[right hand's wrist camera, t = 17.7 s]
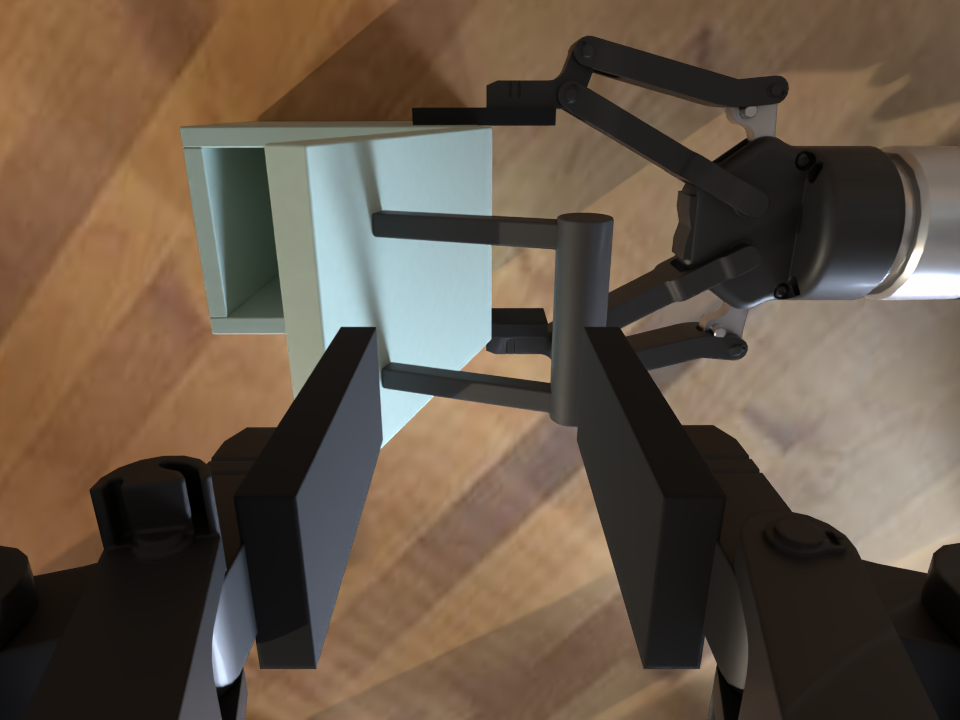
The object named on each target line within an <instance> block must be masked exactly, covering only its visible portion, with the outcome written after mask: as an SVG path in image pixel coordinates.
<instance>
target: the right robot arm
mask: <svg viewBox="0 0 960 720" xmlns="http://www.w3.org/2000/svg"><path fill="white" fill-rule="evenodd" d="M382 442H383V432H382V415H381V398H380V381H379V365H378V348H377V331H376V327H340V329H339V330H338V332H337V334H336V335H335V337H334V338H333V340H332V341H331V343H330V345H329V346H328V348H327V349H326V351H325V352H324V354H323V356H322V357H321V359H320V360H319V362H318V363H317V365H316V367H315V368H314V370H313V371H312V373H311V374H310V376H309V378H308V379H307V381H306V382H305V384H304V386H303V387H302V389H301V390H300V392H299V393H298V395H297V397H296V398H295V400H294V401H293V403H292V404H291V406H290V408H289V409H288V411H287V412H286V414H285V415H284V417H283V419H282V420H281V422H280V423H279V425H278V426H277V427H247V428H245V429H244V430H242V431H240V432H239V433H237V434H236V435H234V436H232V437H231V438H229V439H228V440H226V441H224V443H223V444H222V445H221V446H220V448H219V449H218V450H217V452H216V453H215V454H214V456H213V457H212V460H211V461H209V462H208V463H207V464H206V463H204V462H203V461H202V460H200V459H197V458H192V457H188V456H160V457H155V458H150V459H144V460H140V461H137V462H134V463H131V464H128V465H125V466H123V467H120V468H118V469H116V470H114V471H112V472H111V473H109V474H107V475H105V476H104V477H102V478H100V480H99V481H98V482H97V483H96V484H95V485H94V486H93V487H92V488H91V489H90V494H91V498H92V503H93V507H94V511H95V515H96V519H97V523H98V527H99V531H100V535H101V539H102V543H103V547H104V551H103V553H102V555H101V557H100V559H99V561H98V563H95V564H91V565H87V566H83V567H78V568H73V569H68V570H63V571H58V572H53V573H48V574H42V575H37V576H33V573H32V570H31V567H30V563H29V560H28V557H27V556H26V555H25V554H24V553H23V552H21V551H20V550H19V549H17V548H11V547H4V546H0V720H245V713H246V704H247V696H248V693H247V686H246V679H245V673H244V667H243V666H244V663H245V661H246V659H247V656H248V654H249V652H250V649H251V647H252V645H253V642H254V640H255V638H256V645H257V651H258V657H259V664H260V669H316V668H317V664H318V661H319V657H320V654H321V651H322V647H323V644H324V640H325V637H326V633H327V630H328V627H329V623H330V620H331V616H332V613H333V609H334V606H335V603H336V599H337V596H338V592H339V589H340V586H341V582H342V579H343V575H344V572H345V568H346V565H347V562H348V558H349V555H350V551H351V548H352V544H353V541H354V538H355V534H356V531H357V527H358V524H359V520H360V517H361V514H362V510H363V507H364V503H365V500H366V497H367V493H368V490H369V486H370V483H371V479H372V476H373V473H374V469H375V466H376V462H377V459H378V455H379V452H380V449H381V445H382ZM577 442H578V445H579V449H580V452H581V455H582V459H583V462H584V466H585V469H586V473H587V476H588V479H589V483H590V486H591V490H592V493H593V497H594V500H595V503H596V507H597V510H598V514H599V517H600V520H601V524H602V527H603V531H604V534H605V538H606V541H607V544H608V548H609V551H610V555H611V558H612V562H613V565H614V568H615V572H616V575H617V579H618V582H619V586H620V589H621V592H622V596H623V599H624V603H625V606H626V609H627V613H628V616H629V620H630V623H631V627H632V630H633V633H634V637H635V640H636V644H637V647H638V651H639V654H640V657H641V661H642V664H643V668H644V669H700V664H701V657H702V651H703V645H704V638H705V637H706V639H707V641H708V644H709V646H710V648H711V651H712V653H713V655H714V658H715V660H716V662H717V667H716V673H715V679H714V685H713V691H712V697H711V703H710V708H709V714H708V720H960V543H956V544H950V545H943V546H942V547H941V548H940V549H938V550H937V551H936V552H934V553H933V557H932V560H931V563H930V567H929V570H928V573H923V572H918V571H912V570H907V569H902V568H897V567H892V566H887V565H882V564H877V563H873V562H869V561H865V560H861V558H860V556H859V554H858V552H857V549H856V548H855V547H854V545H853V544H852V543H851V542H850V540H849V539H848V538H847V537H846V535H844V534H843V533H841V532H840V531H838V530H837V529H835V528H834V527H832V526H831V525H829V524H827V523H825V522H822V521H820V520H818V519H815V518H813V517H810V516H808V515H803V514H799V513H794V512H792V511H791V510H790V508H789V507H788V506H787V505H786V503H785V502H784V501H783V499H782V498H781V497H780V495H779V494H778V493H777V492H776V490H775V489H774V488H773V486H772V485H771V484H770V483H769V481H768V480H767V479H766V477H765V476H764V475H763V473H760V472H759V468H758V467H757V466H756V464H755V463H754V462H753V461H752V459H749V455H748V454H747V453H746V451H745V450H744V449H743V448H742V446H741V445H740V444H739V442H738V441H737V440H736V439H735V438H733V437H731V436H730V435H728V434H727V433H725V432H723V431H722V430H720V429H719V428H717V427H715V426H714V425H681V423H680V422H679V420H678V419H677V417H676V415H675V414H674V412H673V411H672V409H671V408H670V406H669V404H668V403H667V401H666V400H665V398H664V397H663V395H662V393H661V392H660V390H659V389H658V387H657V386H656V384H655V382H654V381H653V379H652V378H651V376H650V374H649V373H648V371H647V370H646V368H645V367H644V365H643V363H642V362H641V360H640V359H639V357H638V356H637V354H636V352H635V351H634V349H633V348H632V346H631V345H630V343H629V341H628V340H627V338H626V337H625V335H624V334H623V332H622V330H621V329H620V327H584V331H583V348H582V365H581V381H580V398H579V415H578V432H577Z"/></svg>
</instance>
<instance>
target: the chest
mask: <svg viewBox="0 0 960 720" xmlns="http://www.w3.org/2000/svg"><path fill="white" fill-rule="evenodd" d="M465 126H479V125H413V121H252V122H238V123H225V124H211V125H198V126H184V127H180V133H181V139H182V146H183V147H184V148H183V153H184V159H185V165H186V171H187V178H188V184H189V190H190V197H191V203H192V209H193V215H194V222H195V228H196V234H197V241H198V247H199V253H200V259H201V266H202V272H203V278H204V285H205V291H206V297H207V303H208V310H209V316H210V321H211V328H212V333H213V334H286V330H285V321H284V312H283V304H282V295H281V287H280V278H279V269H278V261H277V252H276V243H275V235H274V226H273V218H272V209H271V200H270V192H269V183H268V175H267V166H266V157H265V149H264V146H265V144H267V143H278V142H290V141H301V140H313V139H325V138H337V137H348V136H360V135H372V134H383V133H395V132H407V131H419V130H430V129H442V128H454V127H465Z"/></svg>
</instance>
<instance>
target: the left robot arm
mask: <svg viewBox="0 0 960 720" xmlns="http://www.w3.org/2000/svg"><path fill="white" fill-rule="evenodd" d="M592 73H595V74H599V75H602V76H606V77H609V78H612V79H616V80H619V81H623V82H626V83H630V84H633V85H636V86H640V87H643V88H647V89H650V90H654V91H657V92H661V93H664V94H667V95H671V96H674V97H678V98H681V99H685V100H688V101H691V102H695V103H698V104H702V105H707V106H712V107H726V117H727V119H728V120H729V122H731V123H732V124H737V125H741V126H742V127H743V128H744V129H745V130H746V133H747V138H746V139H744V140H743V141H741V142H740V143H739V144H737V145H736V146H734V147H733V148H731V149H730V150H728V151H727V152H726V153H724V154H723V155H721V156H720V157H718V158H717V159H715V160H714V161H713V162H711V161H710V160H708V159H707V158H705V157H703V156H701V155H699V154H698V153H695V152H693V151H691V150H690V149H688V148H686V147H685V146H683V145H681V144H680V143H678V142H676V141H675V140H673V139H671V138H670V137H668V136H666V135H665V134H663V133H661V132H660V131H658V130H656V129H655V128H653V127H651V126H650V125H648V124H646V123H645V122H643V121H642V120H640V119H638V118H637V117H635V116H633V115H632V114H630V113H628V112H627V111H625V110H623V109H622V108H620V107H618V106H617V105H615V104H613V103H612V102H610V101H608V100H607V99H605V98H603V97H602V96H600V95H599V94H597V93H595V92H594V91H592V90H590V89H589V88H587V85H588V83H589V80H590V78H591V75H592ZM788 90H789V87H788V82H787V81H786V79H785V78H783V77H782V76H767V77H757V78H747V79H735V78H732V77H729V76H725V75H722V74H718V73H715V72H712V71H708V70H705V69H702V68H698V67H695V66H691V65H688V64H685V63H681V62H678V61H674V60H671V59H668V58H664V57H661V56H658V55H654V54H651V53H647V52H644V51H641V50H637V49H634V48H631V47H627V46H624V45H620V44H617V43H614V42H610V41H607V40H604V39H600V38H597V37H593V36H585V37H583V38H581V39H579V40H578V41H576V42H575V43H574V44H573V45H572V46H571V47H570V49H569V51H568V56H567V59H566V61H565V64H564V67H563V69H562V71H561V73H560V75H559V76H558V77H557V78H555V79H554V80H549V81H496V82H493V83H491V84H489V85H487V108H412V116H413V125H479V126H555V122H556V109H562V110H564V111H566V112H567V113H569V114H571V115H572V116H574V117H576V118H577V119H579V120H581V121H582V122H584V123H586V124H588V125H589V126H591V127H593V128H594V129H596V130H598V131H599V132H601V133H603V134H604V135H606V136H608V137H609V138H611V139H613V140H615V141H616V142H618V143H620V144H621V145H623V146H625V147H626V148H628V149H630V150H631V151H633V152H635V153H636V154H638V155H640V156H641V157H643V158H645V159H647V160H648V161H650V162H652V163H653V164H655V165H657V166H658V167H660V168H662V169H663V170H665V171H666V172H668V173H669V174H671V175H673V176H674V177H676V178H678V179H679V180H681V181H683V182H684V183H686V184H685V185H684V187H683V189H682V191H678V199H677V211H678V217H679V224H678V226H677V229H676V232H675V234H674V237H673V247H672V252H673V253H675V256H674V257H672V258H670V259H668V260H666V261H664V262H662V263H660V264H658V265H657V266H656V267H655V269H654V270H652V271H651V272H649V273H647V274H645V275H643V276H641V277H639V278H637V279H635V280H633V281H631V282H629V283H627V284H625V285H623V286H621V287H619V288H617V289H615V290H613V291H611V292H609V293H608V307H607V321H606V327H620V329H621V328H623V327H625V326H627V325H629V324H631V323H633V322H635V321H637V320H639V319H641V318H643V317H645V316H647V315H649V314H651V313H653V312H655V311H657V310H659V309H661V308H663V307H665V306H667V305H669V304H671V303H673V302H680V301H685V300H687V299H690V298H692V297H694V296H696V295H698V294H700V293H702V292H704V291H706V290H708V289H709V290H710V291H711V292H713V293H714V294H715V295H717V296H718V297H719V298H721V299H722V300H723V301H724V303H723V306H722V307H721V308H720V309H719V310H718V311H716V312H712V313H707V314H705V315H703V316H702V317H701V319H700V321H699V322H688V323H681V324H676V325H672V326H668V327H664V328H659V329H655V330H651V331H647V332H643V333H639V334H635V335H631V336H627V337H626V338H627V340H628V341H629V343H630V345H631V346H632V348H633V349H634V351H635V352H636V354H637V356H638V357H639V359H640V360H641V362H642V363H643V365H644V367H645V368H646V370H647V371H648V370H652V369H657V368H661V367H665V366H669V365H673V364H677V363H682V362H686V361H690V360H694V359H698V358H712V359H724V360H739V359H741V358H743V357H744V356H745V355H746V353H747V351H748V346H747V344H746V342H745V341H744V340H743V339H742V338H741V337H742V333H743V329H744V325H745V321H746V317H747V313H748V309H750V308H753V307H755V306H757V305H759V304H761V303H763V302H766V301H770V300H855V299H859V298H861V297H864V298H866V299H870V300H922V299H960V146H891V147H885V148H883V149H878V148H876V147H872V146H791V145H788V144H786V143H784V142H783V141H781V140H780V139H778V138H776V137H775V131H776V116H777V103H780V102H781V101H782V100H784V99H785V97H786V96H787V93H788ZM552 334H553V321H552V322H550V323H549V324H548V322H547V319H546V316H545V312H544V309H543V308H491V340H490V341H489V342H488V343H487V344H486V351H489V352H492V353H494V354H544V355H546V356H548V357H550V359H551V360H552Z"/></svg>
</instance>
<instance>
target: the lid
mask: <svg viewBox="0 0 960 720" xmlns="http://www.w3.org/2000/svg"><path fill="white" fill-rule="evenodd" d="M264 149H265V157H266V166H267V175H268V183H269V192H270V200H271V209H272V218H273V226H274V235H275V243H276V252H277V261H278V269H279V278H280V287H281V295H282V304H283V312H284V321H285V330H286V338H287V347H288V355H289V364H290V373H291V381H292V390H293V398H294V400H295V398H296V397H297V395H298V393H299V392H300V390H301V389H302V387H303V386H304V384H305V382H306V381H307V379H308V378H309V376H310V374H311V373H312V371H313V370H314V368H315V367H316V365H317V363H318V362H319V360H320V359H321V357H322V356H323V354H324V352H325V351H326V349H327V348H328V346H329V345H330V343H331V341H332V340H333V338H334V337H335V335H336V334H337V332H338V330H339V329H340V327H376V331H377V348H378V365H379V381H380V398H381V415H382V432H383V442H382V445H381V448H382V447H383V446H384V445H385V444H386V443H387V442H388V441H389V440H390V439H391V438H392V437H393V436H394V435H395V434H396V433H397V432H398V431H399V430H400V429H401V428H402V427H403V426H404V425H405V424H406V423H407V422H408V421H409V420H410V419H411V418H412V417H413V416H414V415H415V414H416V413H417V412H418V411H419V410H420V409H421V408H422V407H423V406H424V405H425V404H426V403H427V402H428V401H429V400H431V399H432V398H433V397H434V396H438V397H445V398H452V399H459V400H466V401H472V402H479V403H486V404H493V405H499V406H506V407H513V408H520V409H527V410H533V411H540V412H547V413H549V415H550V418H551V419H552V420H553V421H554V422H556V423H557V424H560V425H563V426H567V427H578V415H579V398H580V381H581V365H582V348H583V331H584V327H606V321H607V307H608V292H609V278H610V264H611V250H612V236H613V222H614V219H613V217H611V216H609V215H604V214H597V213H568V214H562V215H560V216H558V218H557V219H542V218H523V217H504V216H492V127H479V126H465V127H454V128H442V129H430V130H419V131H407V132H395V133H383V134H372V135H360V136H348V137H337V138H325V139H313V140H301V141H290V142H278V143H267V144H265V146H264ZM492 245H498V246H513V247H528V248H543V249H556V259H555V284H554V309H553V334H552V360H551V383H546V382H538V381H531V380H523V379H516V378H508V377H501V376H493V375H486V374H478V373H471V372H463V371H460V370H461V369H462V368H463V367H464V366H465V365H466V364H467V363H468V362H469V361H470V360H471V359H472V358H473V357H474V356H475V355H476V354H477V353H478V352H479V351H480V350H481V349H482V348H483V347H484V346H485V345H486V344H487V343H488V342H489V341H490V340H491V294H492Z"/></svg>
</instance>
